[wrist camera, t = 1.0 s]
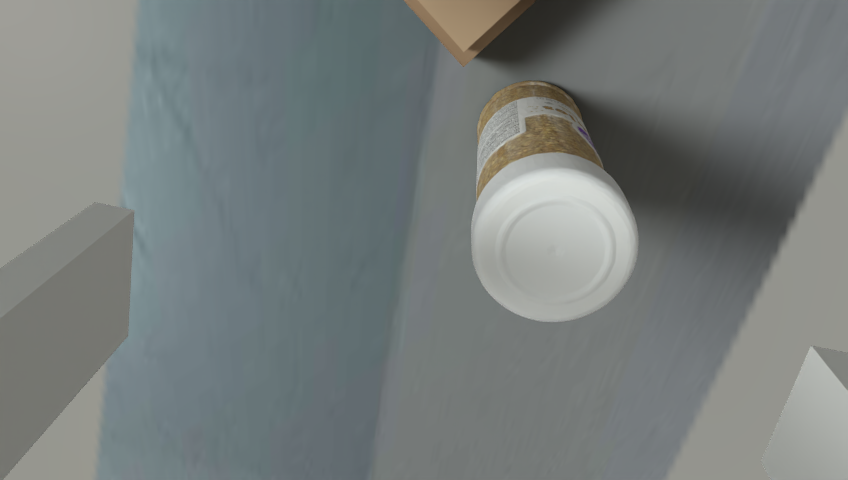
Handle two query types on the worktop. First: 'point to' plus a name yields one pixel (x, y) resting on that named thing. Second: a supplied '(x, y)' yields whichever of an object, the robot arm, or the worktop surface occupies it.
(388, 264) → the worktop surface
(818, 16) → the worktop surface
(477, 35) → the pedestal
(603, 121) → the worktop surface
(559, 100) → the sprinkles bottle
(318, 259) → the worktop surface
